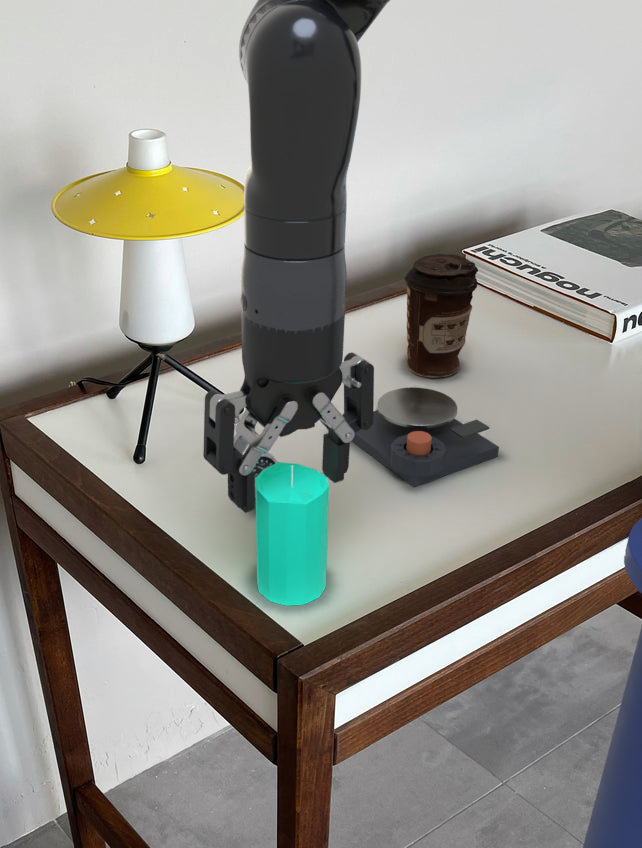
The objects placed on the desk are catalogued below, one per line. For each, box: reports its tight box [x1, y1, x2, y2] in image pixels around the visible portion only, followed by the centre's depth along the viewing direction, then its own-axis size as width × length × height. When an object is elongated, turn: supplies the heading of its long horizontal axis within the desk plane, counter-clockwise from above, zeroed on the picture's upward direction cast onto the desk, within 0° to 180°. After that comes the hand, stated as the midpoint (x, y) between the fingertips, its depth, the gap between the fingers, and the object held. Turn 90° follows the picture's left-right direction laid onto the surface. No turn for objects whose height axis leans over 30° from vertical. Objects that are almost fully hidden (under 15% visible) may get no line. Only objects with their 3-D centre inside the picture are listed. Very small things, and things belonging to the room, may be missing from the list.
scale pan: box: [376, 387, 491, 438], centre depth 106 cm, size 12×8×1 cm
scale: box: [351, 409, 500, 488], centre depth 106 cm, size 14×12×3 cm
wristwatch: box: [252, 451, 279, 505], centre depth 97 cm, size 4×6×5 cm, turn 12°
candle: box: [255, 461, 330, 607], centre depth 84 cm, size 6×6×12 cm
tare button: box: [406, 431, 432, 455], centre depth 100 cm, size 2×2×2 cm
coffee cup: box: [404, 253, 479, 378], centre depth 118 cm, size 9×8×13 cm
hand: (289, 492), depth 82 cm, fingers open, 8 cm apart
